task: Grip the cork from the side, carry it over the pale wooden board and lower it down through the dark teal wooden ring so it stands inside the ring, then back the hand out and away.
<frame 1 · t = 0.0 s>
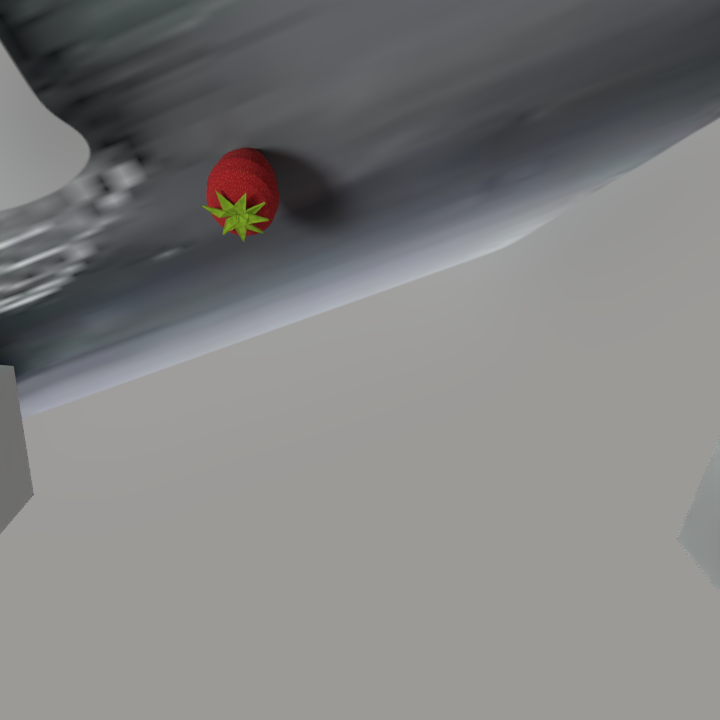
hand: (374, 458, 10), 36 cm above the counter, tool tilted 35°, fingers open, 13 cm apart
strawberry: (252, 151, 48), on the counter
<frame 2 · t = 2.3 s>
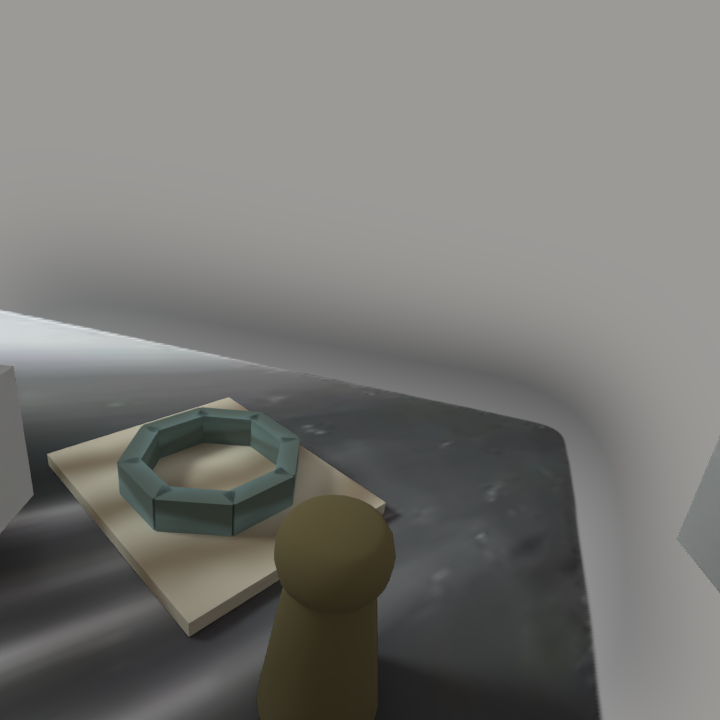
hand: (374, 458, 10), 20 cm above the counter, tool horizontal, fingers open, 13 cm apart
cork: (317, 697, 27), on the counter
ring stand: (214, 489, 41), on the counter
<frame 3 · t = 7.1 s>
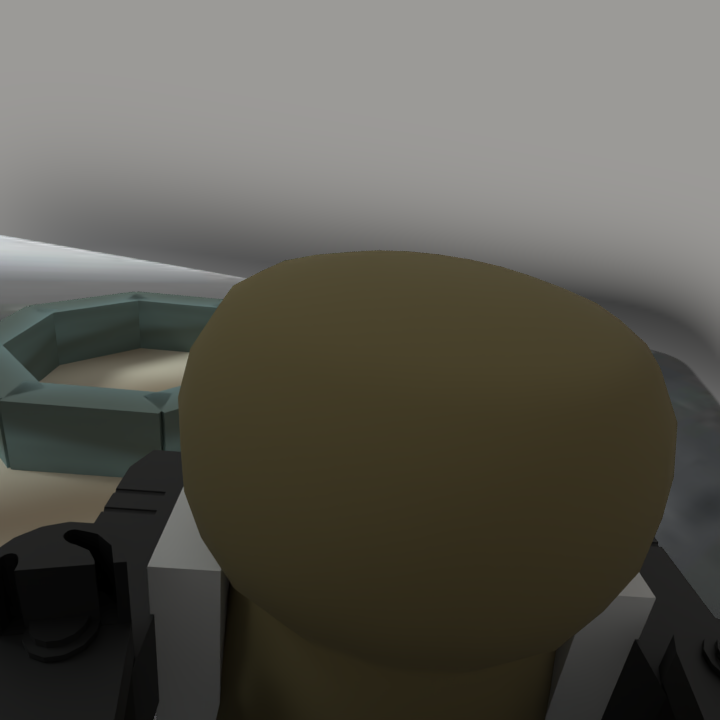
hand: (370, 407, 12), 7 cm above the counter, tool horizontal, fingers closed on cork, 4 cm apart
ring stand: (149, 412, 24), on the counter
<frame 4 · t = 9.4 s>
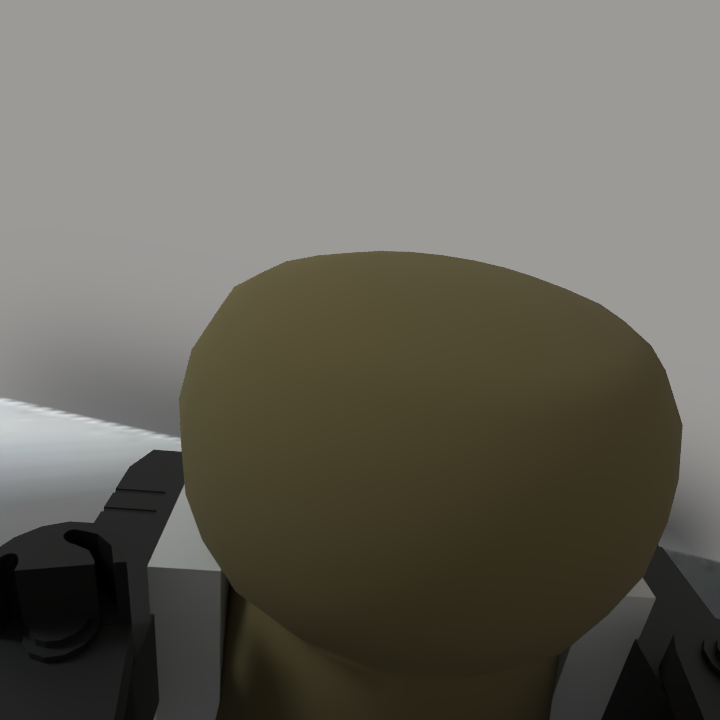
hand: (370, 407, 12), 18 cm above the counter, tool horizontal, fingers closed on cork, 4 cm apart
when the fingers open (8 cm above the counter, at t = 11.9 s): cork moves 2 cm, resting on ring stand.
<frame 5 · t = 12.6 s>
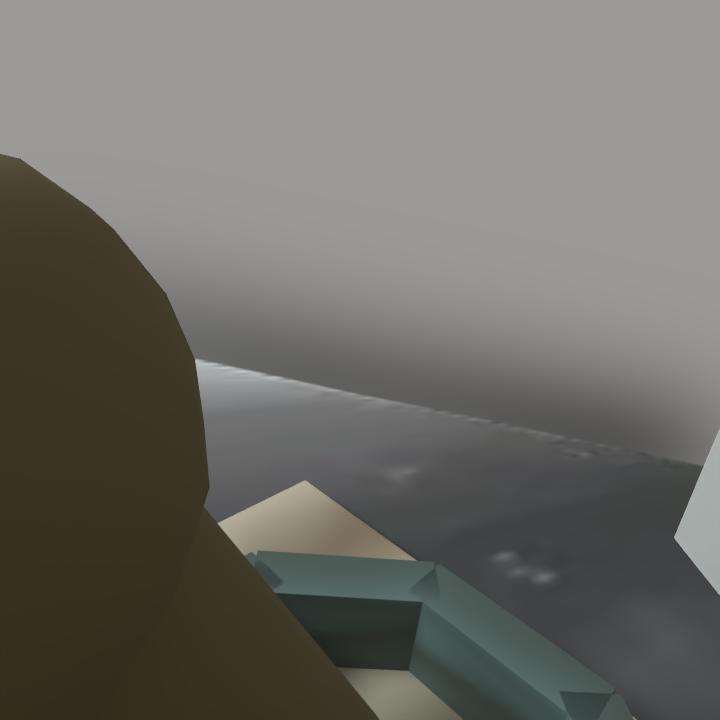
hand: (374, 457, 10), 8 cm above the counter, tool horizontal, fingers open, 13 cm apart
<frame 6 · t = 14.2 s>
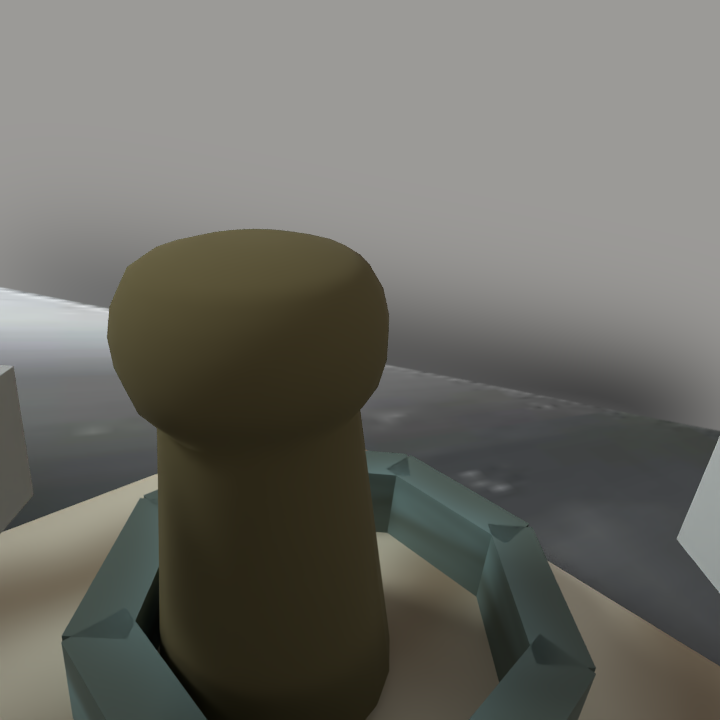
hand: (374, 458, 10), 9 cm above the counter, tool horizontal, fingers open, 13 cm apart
cork: (278, 651, 15), point 1 cm above the counter, touching ring stand
ring stand: (327, 664, 16), on the counter
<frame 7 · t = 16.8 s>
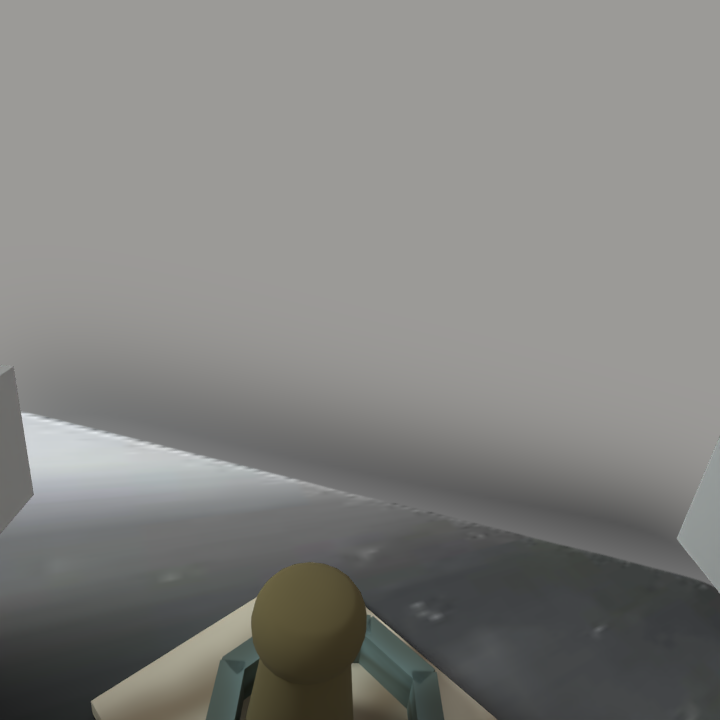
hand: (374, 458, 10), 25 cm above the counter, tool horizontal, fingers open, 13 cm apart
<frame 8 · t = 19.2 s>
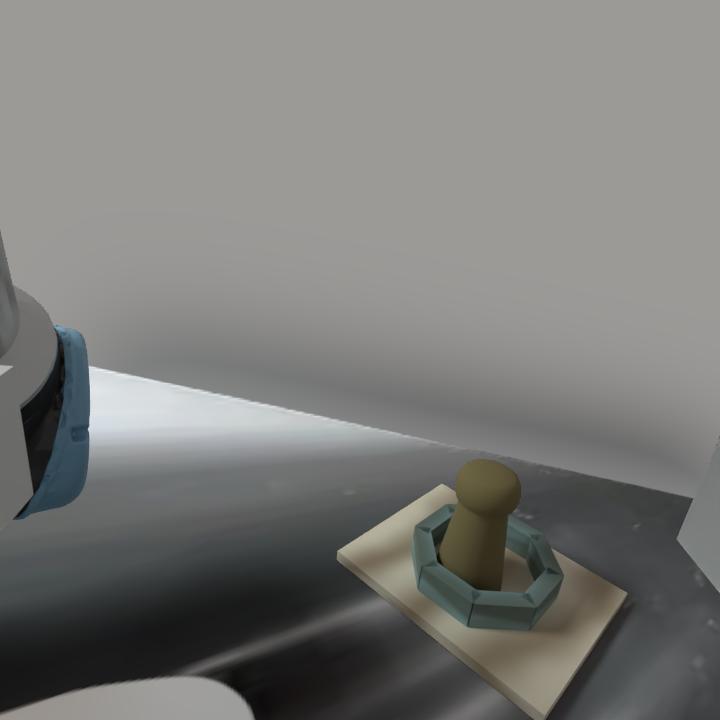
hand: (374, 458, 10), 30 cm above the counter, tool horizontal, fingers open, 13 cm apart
cork: (466, 577, 48), point 1 cm above the counter, touching ring stand
ring stand: (478, 580, 48), on the counter
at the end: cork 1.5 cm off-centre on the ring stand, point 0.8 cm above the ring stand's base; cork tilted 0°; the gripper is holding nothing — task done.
